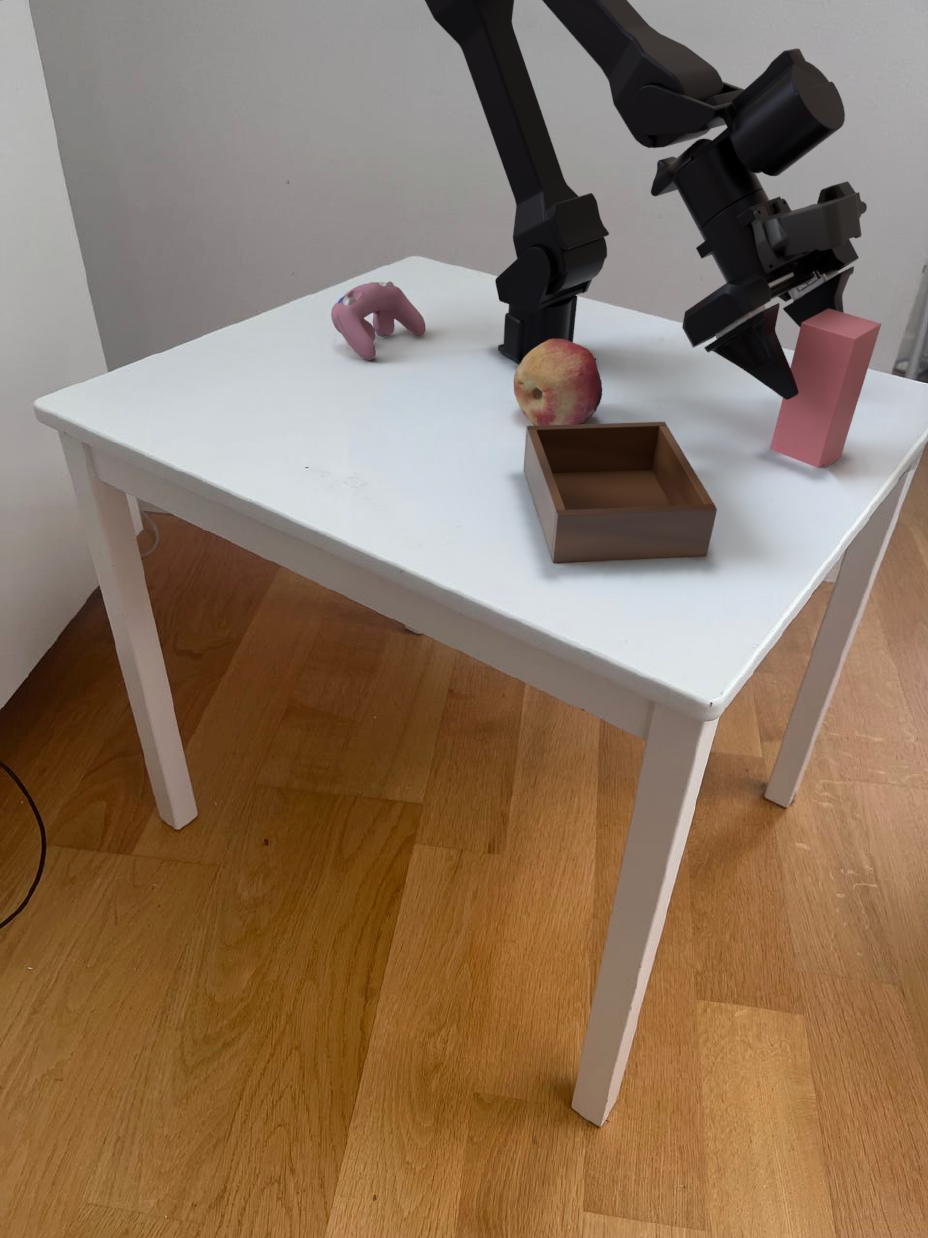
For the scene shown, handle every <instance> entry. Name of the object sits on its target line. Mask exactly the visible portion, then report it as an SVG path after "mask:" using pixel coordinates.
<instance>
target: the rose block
mask: <svg viewBox="0 0 928 1238" xmlns="http://www.w3.org/2000/svg"><path fill="white" fill-rule="evenodd" d="M881 327H882V323H881V322H877V321H874V320H871V319H867V318H864V317H861V316H856V315H853V314H849V313H847V312H844V313H843V312H839V311H836V310H832V309H826V310H824V311H823V312H821V313H819V314H817V315H815V316H813V317H811V318H809V319H808V320H806V321H804V322H802V324H801V328H800V327H799V332H798V336H797V340H796V343H795V348H794V351H793V356H792V360H791V363H790V369H791V371H792V373H793V376H794V379H795V382H796V385H797V388H798V391H799V393H798V395H796V396H795V397H793V398H791V399H789V400H786V399H784V398H783V397H782V399H781V404H780V408H779V411H778V415H777V419H776V424H775V427H774V432H773V435H772V439H771V443H770V446H769V450H771V451H772V452H773V451H774V452H777V453H779V454H781V455H783V456H787V457H789V458H790V459H791V458H792V459H794V460H797V461H800V462H802V463H805V464H807V465H809V466H813V467H815V468H817V469H818V468H821V467H822V466H823V465H824V466H825V467H826V468H828V467H829V466H831V465H832V464H833V463H835V462H837V460H839V459H840V458H841V457H842V453H843V451H844V448H845V443H846V441H847V438H848V435H849V432H850V428H851V425H852V423H853V422H852V421H853V419H854V415H855V412H856V408H857V405H858V402H859V398H860V395H861V392H862V389H863V385H864V382H865V380H866V375H867V373H868V368H869V366H870V363H871V359H872V356H873V352H874V349H875V346H876V343H877V341H878V340H877V339H878V337H879V333H880V330H881Z"/></svg>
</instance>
